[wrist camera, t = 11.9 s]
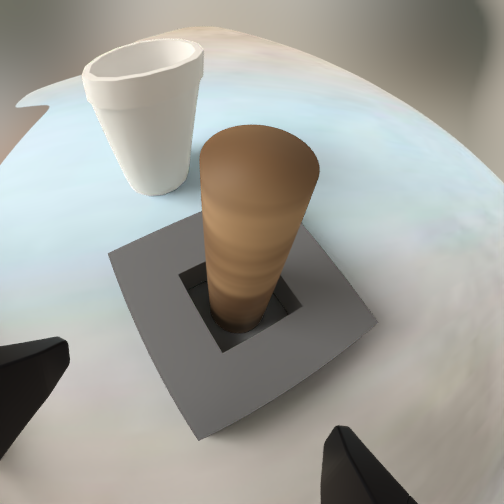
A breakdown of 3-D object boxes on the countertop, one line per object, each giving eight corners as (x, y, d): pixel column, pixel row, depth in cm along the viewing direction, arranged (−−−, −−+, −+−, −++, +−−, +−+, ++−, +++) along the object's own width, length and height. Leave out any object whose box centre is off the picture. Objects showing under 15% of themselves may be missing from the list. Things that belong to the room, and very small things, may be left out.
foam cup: (217, 156, 29) (222, 42, 18) (178, 219, 25) (160, 83, 14) (144, 139, 30) (130, 39, 19) (98, 194, 25) (58, 82, 14)
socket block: (360, 334, 21) (378, 322, 18) (202, 435, 16) (198, 440, 13) (264, 207, 26) (268, 184, 24) (119, 272, 21) (107, 253, 19)
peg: (268, 329, 20) (336, 200, 8) (213, 336, 20) (203, 208, 8) (258, 280, 22) (300, 125, 10) (207, 285, 22) (197, 127, 10)
